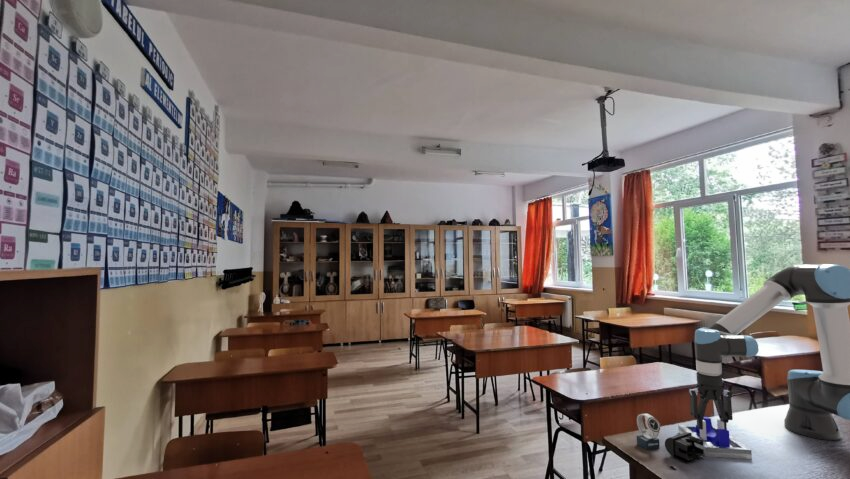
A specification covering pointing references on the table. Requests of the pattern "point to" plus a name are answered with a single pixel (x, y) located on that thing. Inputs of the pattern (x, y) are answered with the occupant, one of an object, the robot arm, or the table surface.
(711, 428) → the cable clip
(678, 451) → the end cap
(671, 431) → the table surface
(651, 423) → the watch
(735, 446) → the grey tray
